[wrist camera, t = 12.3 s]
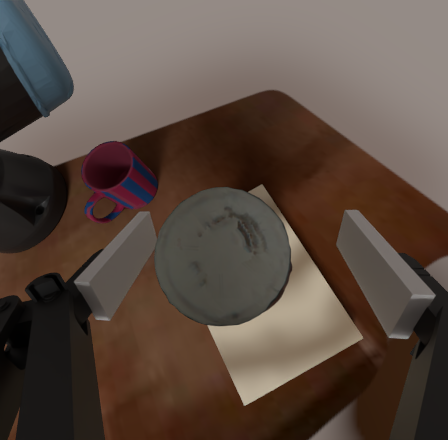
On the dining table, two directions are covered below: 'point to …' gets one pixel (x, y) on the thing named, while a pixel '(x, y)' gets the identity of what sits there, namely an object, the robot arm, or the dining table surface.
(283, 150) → the dining table surface
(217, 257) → the sauce bottle
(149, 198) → the mug
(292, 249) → the birch board
